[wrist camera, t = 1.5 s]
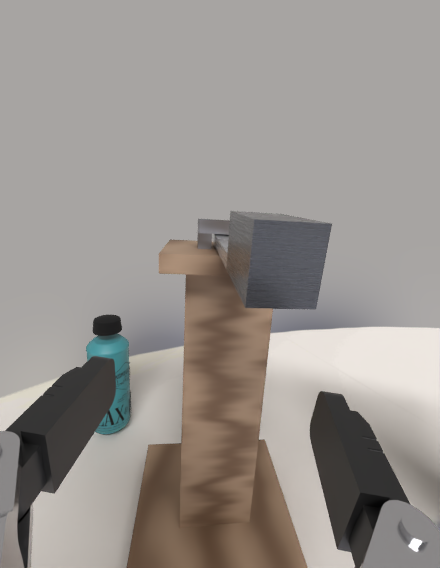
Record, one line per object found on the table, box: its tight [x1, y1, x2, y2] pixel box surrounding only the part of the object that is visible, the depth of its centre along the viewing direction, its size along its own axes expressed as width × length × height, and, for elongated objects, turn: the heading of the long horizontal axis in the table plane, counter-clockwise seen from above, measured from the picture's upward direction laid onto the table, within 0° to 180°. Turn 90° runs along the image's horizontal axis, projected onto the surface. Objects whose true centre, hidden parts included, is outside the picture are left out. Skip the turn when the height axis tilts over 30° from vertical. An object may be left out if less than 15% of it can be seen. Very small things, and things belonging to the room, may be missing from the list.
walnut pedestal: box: [127, 219, 307, 568], centre depth 30 cm, size 18×16×36 cm
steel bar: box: [212, 211, 332, 309], centre depth 19 cm, size 3×18×4 cm, turn 7°
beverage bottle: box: [86, 315, 131, 434], centre depth 43 cm, size 6×7×20 cm
